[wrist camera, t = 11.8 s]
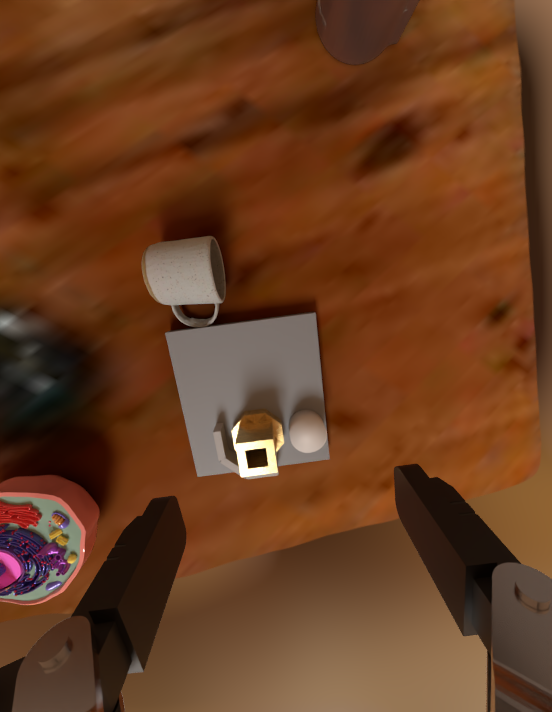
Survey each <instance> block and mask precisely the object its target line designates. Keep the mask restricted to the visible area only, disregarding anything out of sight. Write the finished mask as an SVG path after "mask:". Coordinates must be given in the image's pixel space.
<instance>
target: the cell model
mask: <svg viewBox="0 0 552 712" xmlns="http://www.w3.org/2000/svg"><path fill="white" fill-rule="evenodd" d="M99 515H100V510H99V507H98V505H97V503H96V502H95V501H94V499H93V498H92V497H91V495H90V494H89V493H88V492H87V491H86V490H85V489H84V488H83V487H82V486H80V485H79V484H77V483H75V482H72V481H70V480H68V479H66V478H64V477H62V476H59V475H37V476H19V477H14V478H10V479H8V480H5V481H3V482H1V483H0V601H5V602H11V603H16V604H21V605H35V604H39V603H42V602H45V601H47V600H49V599H51V598H52V597H54V596H56V595H58V594H60V593H62V592H63V591H64V590H65V589H66V588H67V587H68V585H69V584H70V583H71V581H72V580H73V579H74V578H75V576H76V575H77V573H78V572H79V571H80V569H81V568H82V566H83V565H84V563H85V562H86V560H87V559H88V557H89V555H90V554H91V551H92V549H93V547H94V544H95V541H96V537H97V527H98V519H99Z"/></svg>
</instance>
